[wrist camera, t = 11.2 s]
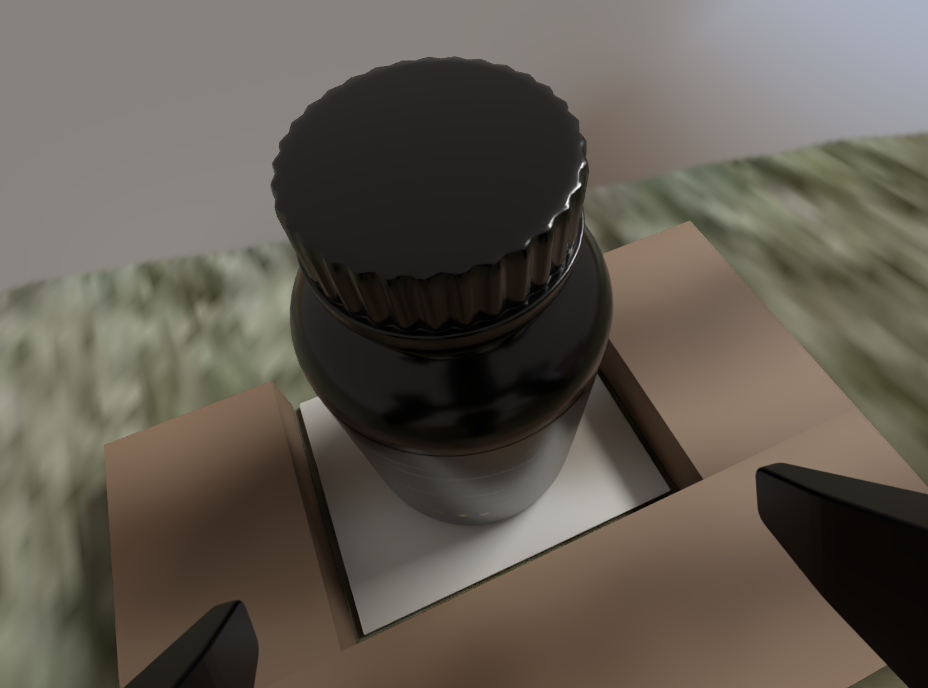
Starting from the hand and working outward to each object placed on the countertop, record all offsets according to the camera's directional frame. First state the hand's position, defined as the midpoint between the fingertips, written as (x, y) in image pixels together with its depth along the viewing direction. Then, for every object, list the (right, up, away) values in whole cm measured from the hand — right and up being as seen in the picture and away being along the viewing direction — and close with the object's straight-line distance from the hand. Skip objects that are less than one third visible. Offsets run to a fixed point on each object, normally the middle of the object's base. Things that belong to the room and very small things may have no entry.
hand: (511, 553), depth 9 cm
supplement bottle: (-1, 0, +9) cm, 9 cm away
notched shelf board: (+1, -2, +8) cm, 8 cm away
